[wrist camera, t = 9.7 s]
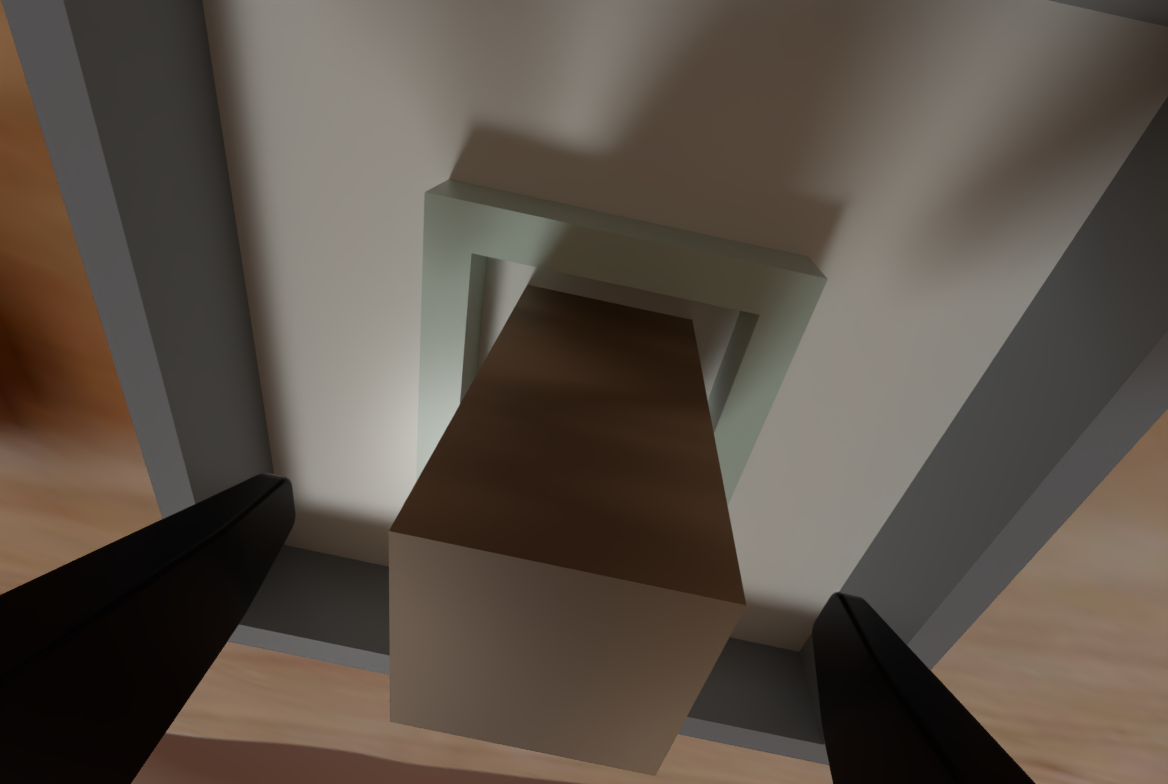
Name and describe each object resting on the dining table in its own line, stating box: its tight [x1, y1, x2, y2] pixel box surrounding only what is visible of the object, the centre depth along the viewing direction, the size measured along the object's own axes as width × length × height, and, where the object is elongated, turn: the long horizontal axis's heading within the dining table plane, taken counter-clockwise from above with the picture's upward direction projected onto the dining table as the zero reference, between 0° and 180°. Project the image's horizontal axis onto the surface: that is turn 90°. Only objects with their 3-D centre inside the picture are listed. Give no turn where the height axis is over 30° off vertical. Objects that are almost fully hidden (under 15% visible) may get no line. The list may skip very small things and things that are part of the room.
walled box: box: [1, 0, 1168, 765], centre depth 13 cm, size 20×20×4 cm
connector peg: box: [389, 285, 746, 776], centre depth 10 cm, size 4×4×8 cm
